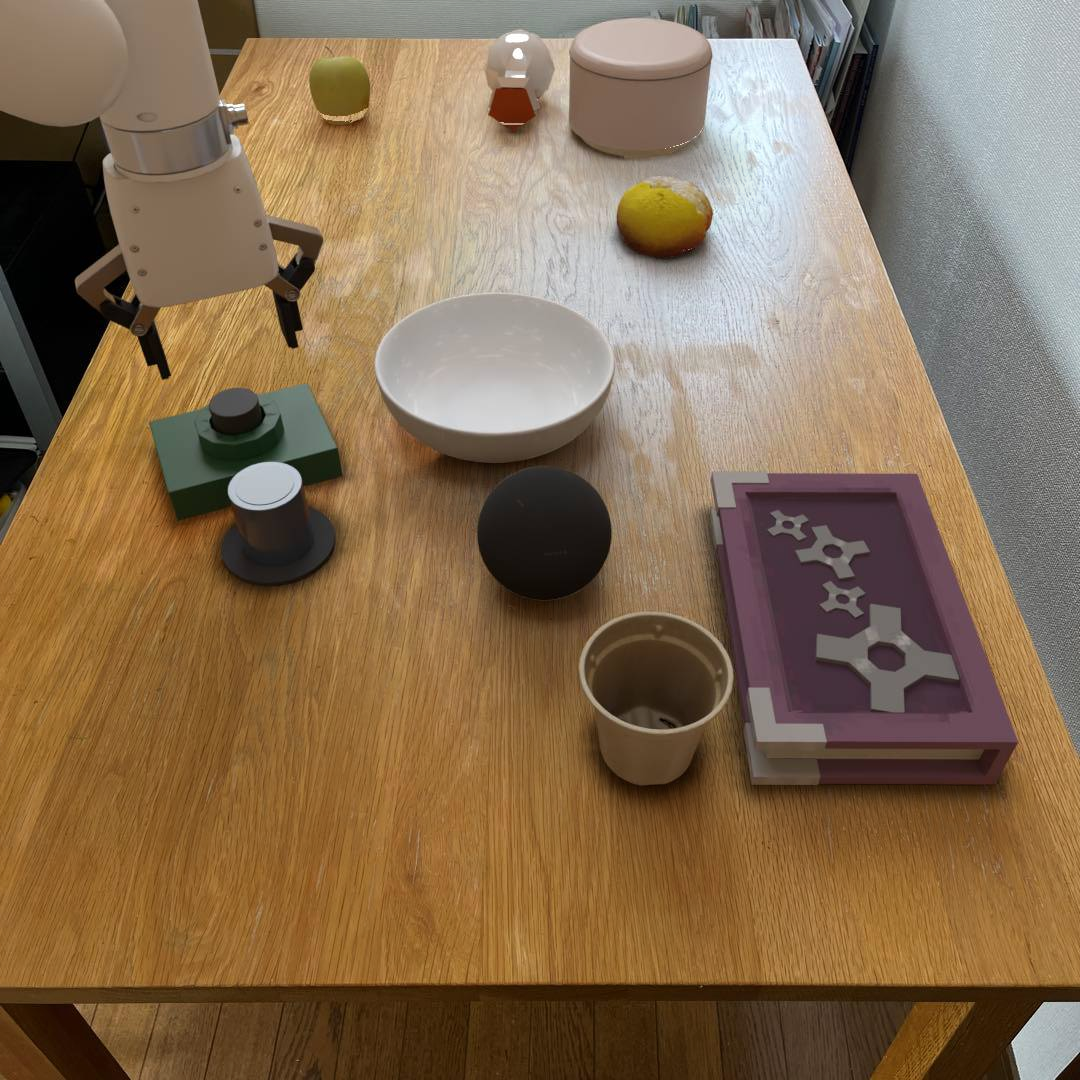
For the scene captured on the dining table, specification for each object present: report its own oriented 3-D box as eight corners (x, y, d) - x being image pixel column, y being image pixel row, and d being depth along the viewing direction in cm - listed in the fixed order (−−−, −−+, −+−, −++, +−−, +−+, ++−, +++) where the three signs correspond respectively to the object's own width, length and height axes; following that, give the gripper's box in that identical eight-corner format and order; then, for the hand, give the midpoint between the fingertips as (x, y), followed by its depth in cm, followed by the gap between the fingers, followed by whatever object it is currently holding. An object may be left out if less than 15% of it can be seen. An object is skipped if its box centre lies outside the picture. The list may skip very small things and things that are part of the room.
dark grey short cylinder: (219, 441, 86) (213, 421, 84) (209, 413, 88) (204, 394, 87) (267, 428, 87) (262, 409, 85) (256, 402, 89) (252, 382, 88)
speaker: (547, 649, 76) (548, 554, 69) (453, 581, 81) (444, 485, 74) (635, 576, 81) (643, 480, 74) (541, 516, 86) (540, 420, 79)
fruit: (734, 243, 117) (726, 183, 110) (655, 288, 116) (642, 230, 109) (681, 198, 124) (671, 140, 117) (606, 241, 123) (592, 184, 116)
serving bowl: (432, 524, 85) (425, 460, 80) (352, 385, 99) (342, 323, 94) (653, 453, 91) (659, 390, 87) (550, 332, 105) (550, 271, 100)
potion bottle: (532, 96, 150) (523, 153, 141) (475, 56, 146) (462, 112, 137) (570, 45, 144) (563, 102, 135) (512, 2, 140) (500, 57, 131)
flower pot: (702, 827, 66) (718, 750, 60) (559, 789, 68) (560, 710, 62) (727, 710, 72) (744, 629, 66) (596, 679, 74) (600, 597, 68)
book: (705, 516, 86) (712, 471, 82) (901, 517, 86) (917, 471, 82) (746, 785, 68) (757, 741, 64) (994, 786, 68) (1019, 742, 64)
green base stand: (177, 521, 86) (162, 475, 82) (158, 449, 92) (142, 404, 89) (343, 476, 89) (334, 430, 86) (313, 410, 96) (304, 365, 92)
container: (554, 154, 134) (555, 60, 125) (582, 99, 146) (585, 10, 138) (694, 168, 131) (704, 72, 122) (711, 110, 143) (721, 20, 135)
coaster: (234, 599, 79) (233, 596, 79) (212, 524, 85) (210, 521, 85) (349, 565, 82) (348, 562, 82) (319, 495, 88) (318, 491, 88)
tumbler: (251, 574, 81) (235, 518, 76) (236, 528, 84) (220, 472, 80) (322, 554, 82) (310, 497, 78) (304, 509, 86) (292, 453, 82)
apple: (360, 128, 137) (331, 49, 131) (315, 136, 141) (284, 59, 135) (392, 106, 142) (365, 29, 136) (347, 114, 146) (319, 40, 140)
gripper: (286, 90, 72) (326, 303, 84) (24, 136, 68) (105, 354, 80) (313, 134, 67) (350, 353, 79) (31, 186, 63) (117, 410, 75)
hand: (228, 353), depth 80 cm, fingers open, 9 cm apart
